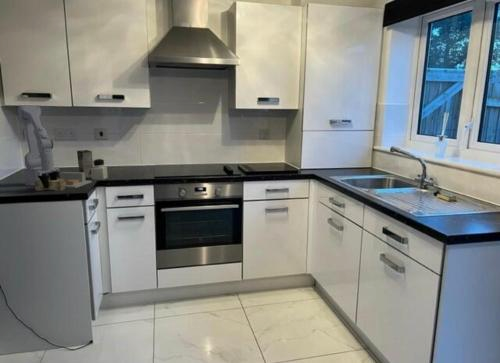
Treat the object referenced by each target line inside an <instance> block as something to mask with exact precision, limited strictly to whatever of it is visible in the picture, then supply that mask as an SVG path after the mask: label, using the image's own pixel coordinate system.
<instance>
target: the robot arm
mask: <svg viewBox="0 0 500 363" xmlns="http://www.w3.org/2000/svg"><path fill="white" fill-rule="evenodd" d="M17 114H18V118H19V121H20V122H22V123H23V125H24V130H25V135H26V141H27V145H28V146H27V147H28V152H27V153H26V154H25V156H24V166H25V169H26V170H25V172H24V178H25V184H24V186H34V187H35V181H38V180H41V182H42V184H43V186H44V188H48V187H49V184H48V180H57V179H59V178H58V177H59V176H60V167H55V166H54V155H53V148H54V142H53V139H52V137H51V136H49V134H48V132H47V130H46V128H45V127H43V126H42V122H41V120H40V119H41V115H42V109H41V107H40V105H19V106H18V108H17Z"/></svg>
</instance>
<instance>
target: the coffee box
mask: <svg viewBox="0 0 500 363" xmlns="http://www.w3.org/2000/svg"><path fill="white" fill-rule="evenodd" d="M76 153H77V163H78V172H85V178H90V177H91V178H92V175H91V168H93V167H94V166H93V151H92V150H88V149H84V150H83V149H82V150H76Z"/></svg>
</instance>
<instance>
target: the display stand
mask: <svg viewBox="0 0 500 363" xmlns="http://www.w3.org/2000/svg"><path fill="white" fill-rule="evenodd" d="M57 180H64V182H65V189H66V188H67V189H68V188H69V189H77V188H79V187H82V186H85V185H89V184H91V183H92V180H86V177H85V172H79V171H77V172H76V171H60V172H59V178H57Z"/></svg>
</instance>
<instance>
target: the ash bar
mask: <svg viewBox="0 0 500 363" xmlns="http://www.w3.org/2000/svg"><path fill="white" fill-rule="evenodd" d="M48 184H49V187H48V188H44V186H43V184H42V182H41V180H38V181H35V186H34V188H35V191H44V190H55V191H57V192H58V191H64V190H66V188H65V182H64V180H50V179H49V180H48Z"/></svg>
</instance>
